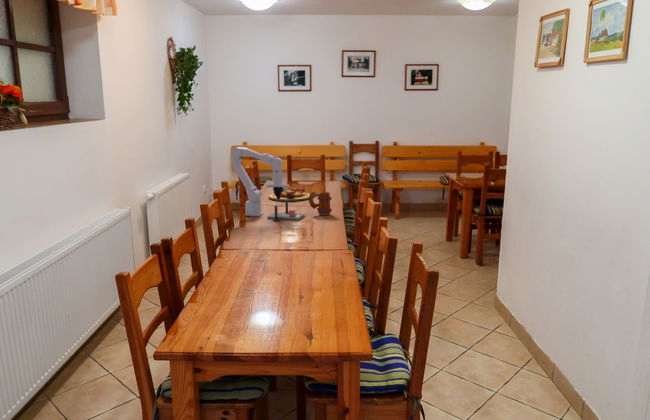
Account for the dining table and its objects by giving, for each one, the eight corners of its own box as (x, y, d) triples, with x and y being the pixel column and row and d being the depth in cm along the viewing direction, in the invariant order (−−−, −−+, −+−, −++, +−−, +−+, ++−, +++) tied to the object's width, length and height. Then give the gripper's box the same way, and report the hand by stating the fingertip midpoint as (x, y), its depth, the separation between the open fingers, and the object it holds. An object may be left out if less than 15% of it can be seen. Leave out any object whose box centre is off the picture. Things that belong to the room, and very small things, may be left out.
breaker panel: (267, 218, 311) (267, 216, 311) (274, 214, 322) (274, 212, 322) (298, 220, 305) (298, 218, 305) (304, 216, 317) (304, 214, 316)
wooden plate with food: (305, 203, 359) (305, 191, 358) (262, 201, 366) (262, 189, 364) (316, 195, 390) (316, 185, 388) (276, 194, 397) (276, 183, 395)
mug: (332, 213, 324) (332, 190, 321) (331, 216, 316) (331, 192, 313) (309, 213, 326) (309, 190, 322) (308, 216, 318) (307, 192, 314)
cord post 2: (282, 214, 322) (282, 200, 320) (285, 213, 325) (284, 199, 323) (288, 215, 321) (288, 201, 319) (291, 213, 324) (290, 199, 322)
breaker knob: (289, 215, 311) (288, 210, 311) (290, 214, 314) (290, 209, 313) (293, 216, 310) (293, 210, 310) (295, 215, 313) (295, 209, 313)
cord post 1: (271, 221, 305) (271, 206, 303) (274, 219, 309) (274, 205, 307) (278, 221, 304) (277, 206, 302) (280, 220, 307) (280, 205, 306)
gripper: (264, 178, 314) (265, 199, 316) (286, 178, 309) (287, 200, 312) (268, 176, 320) (269, 197, 323) (290, 177, 316) (291, 198, 319)
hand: (278, 199), depth 318 cm, fingers closed
